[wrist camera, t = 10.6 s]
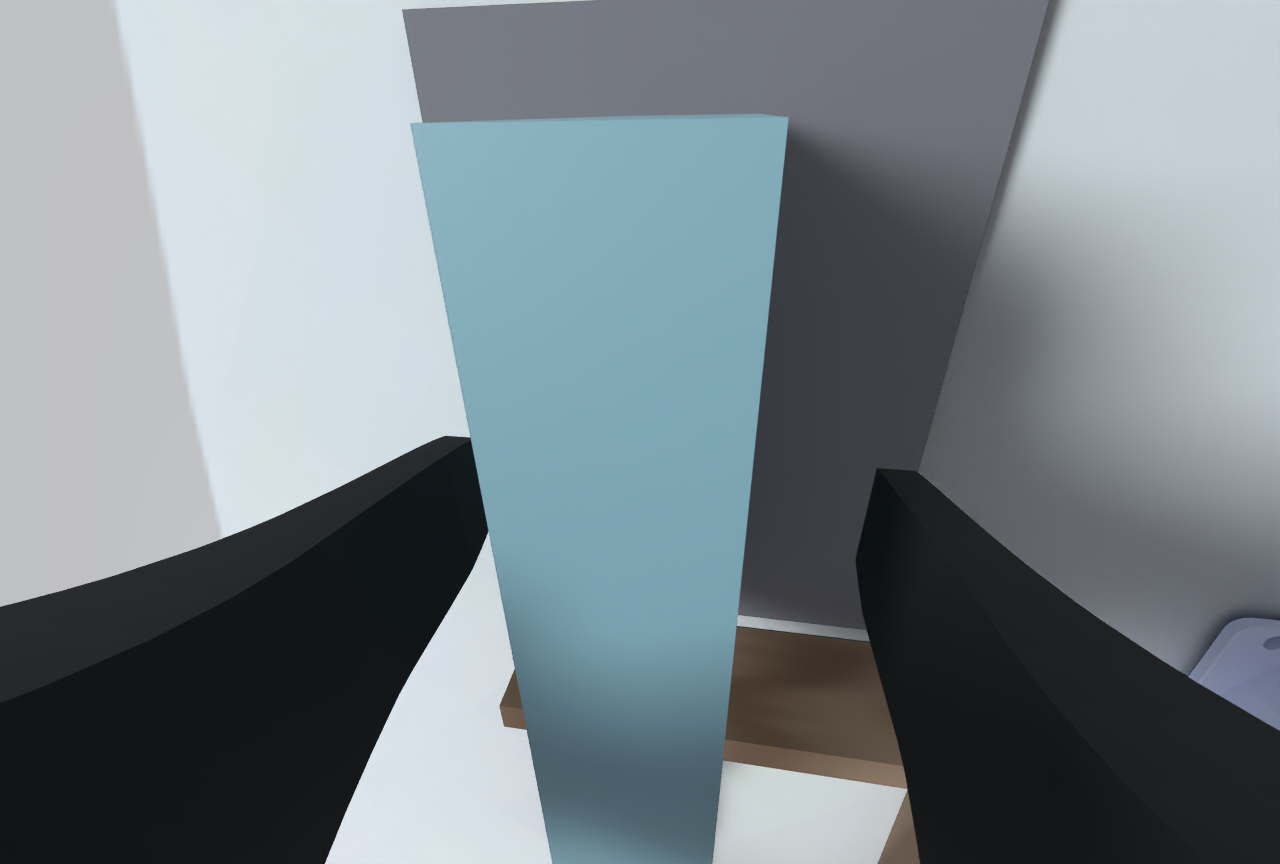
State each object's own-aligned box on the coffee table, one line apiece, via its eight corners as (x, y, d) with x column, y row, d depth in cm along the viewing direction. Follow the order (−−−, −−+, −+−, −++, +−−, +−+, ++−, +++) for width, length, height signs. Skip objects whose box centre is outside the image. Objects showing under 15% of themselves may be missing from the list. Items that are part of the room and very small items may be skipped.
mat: (1045, -18, 10) (1055, -23, 9) (870, 620, 18) (873, 630, 17) (412, 12, 12) (401, 10, 11) (511, 579, 20) (507, 588, 19)
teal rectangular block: (759, 113, 11) (789, 117, 3) (723, 564, 17) (704, 937, 9) (636, 115, 11) (409, 123, 4) (643, 556, 17) (561, 908, 10)
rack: (997, 657, 18) (1057, 789, 14) (882, 909, 27) (902, 1027, 23) (542, 603, 20) (499, 705, 16) (577, 852, 29) (554, 952, 25)
